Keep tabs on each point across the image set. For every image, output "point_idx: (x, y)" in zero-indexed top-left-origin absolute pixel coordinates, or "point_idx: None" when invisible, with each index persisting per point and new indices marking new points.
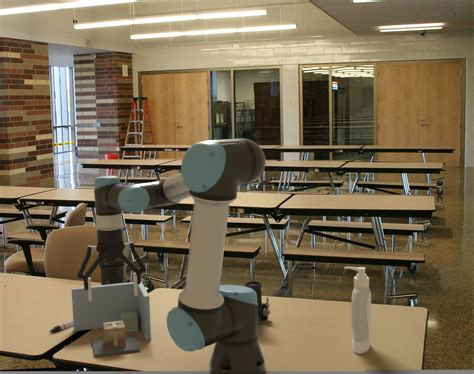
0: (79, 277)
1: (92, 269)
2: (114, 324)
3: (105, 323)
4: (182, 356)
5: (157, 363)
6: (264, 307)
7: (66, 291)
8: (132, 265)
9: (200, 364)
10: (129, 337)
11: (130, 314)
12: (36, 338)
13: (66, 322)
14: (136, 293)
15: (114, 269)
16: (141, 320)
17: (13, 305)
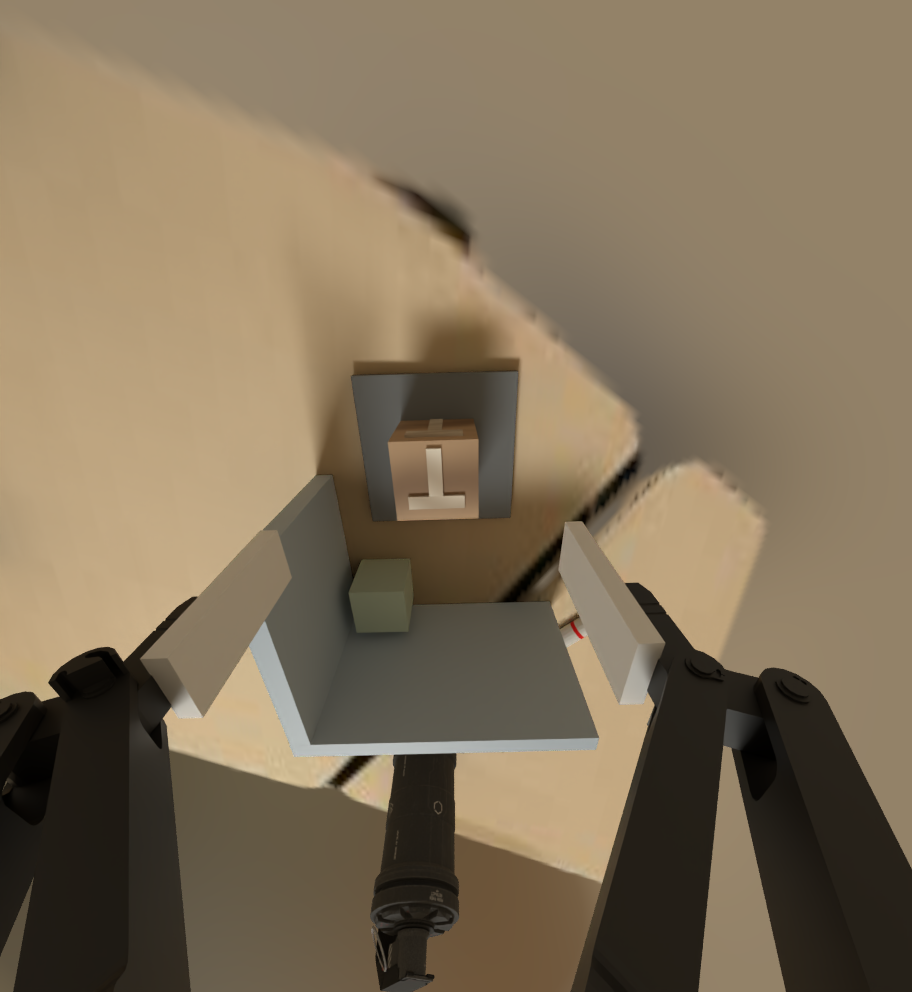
0: (779, 676)
1: (675, 777)
2: (433, 479)
3: (469, 507)
4: (173, 259)
5: (274, 210)
6: None
7: (529, 809)
8: (71, 798)
9: (65, 116)
10: (387, 495)
11: (373, 609)
12: (659, 580)
13: (568, 642)
14: (259, 541)
15: (409, 863)
16: (339, 579)
17: None
